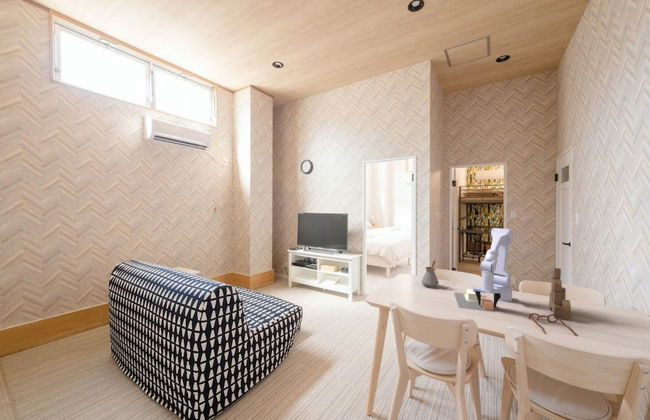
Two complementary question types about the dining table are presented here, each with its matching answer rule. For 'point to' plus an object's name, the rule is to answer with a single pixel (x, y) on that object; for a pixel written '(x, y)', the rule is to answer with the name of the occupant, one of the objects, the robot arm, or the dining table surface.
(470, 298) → the cream brick
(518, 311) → the dining table surface
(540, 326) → the glasses
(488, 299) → the terracotta brick
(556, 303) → the wooden toy
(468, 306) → the baseplate
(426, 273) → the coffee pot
